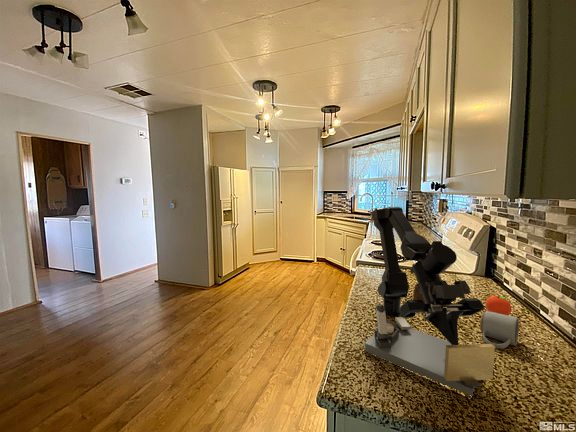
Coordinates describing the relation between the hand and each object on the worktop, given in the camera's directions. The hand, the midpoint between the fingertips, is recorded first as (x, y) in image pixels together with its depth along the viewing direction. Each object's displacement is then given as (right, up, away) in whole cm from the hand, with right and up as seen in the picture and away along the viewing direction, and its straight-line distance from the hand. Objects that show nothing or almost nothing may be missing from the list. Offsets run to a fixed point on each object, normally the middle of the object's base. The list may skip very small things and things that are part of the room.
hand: (455, 345), depth 58 cm
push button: (-10, -3, +14) cm, 18 cm away
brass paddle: (0, -6, -4) cm, 7 cm away
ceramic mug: (+23, -7, +15) cm, 28 cm away
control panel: (-3, -8, +9) cm, 12 cm away
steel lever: (-13, -3, +10) cm, 16 cm away
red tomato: (+35, -5, +30) cm, 46 cm away
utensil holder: (+14, -4, +40) cm, 42 cm away
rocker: (-4, -3, +18) cm, 19 cm away
